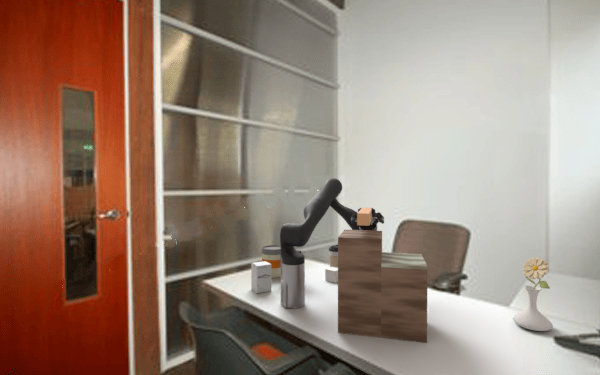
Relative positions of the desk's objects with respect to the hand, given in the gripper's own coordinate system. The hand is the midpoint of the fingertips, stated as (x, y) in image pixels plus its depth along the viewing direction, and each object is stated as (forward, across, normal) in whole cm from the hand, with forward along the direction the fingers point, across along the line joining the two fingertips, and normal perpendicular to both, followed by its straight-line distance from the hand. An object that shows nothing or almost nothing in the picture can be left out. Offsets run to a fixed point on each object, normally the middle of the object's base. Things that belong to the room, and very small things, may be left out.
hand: (366, 210), depth 130 cm
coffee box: (-42, -38, +22) cm, 60 cm away
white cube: (-51, -18, +16) cm, 57 cm away
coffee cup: (-64, -19, +9) cm, 67 cm away
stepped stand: (-8, +6, +40) cm, 42 cm away
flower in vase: (-18, +57, +35) cm, 69 cm away
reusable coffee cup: (-52, -51, +16) cm, 75 cm away
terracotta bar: (+4, 0, +6) cm, 8 cm away
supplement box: (-31, -48, +28) cm, 64 cm away
